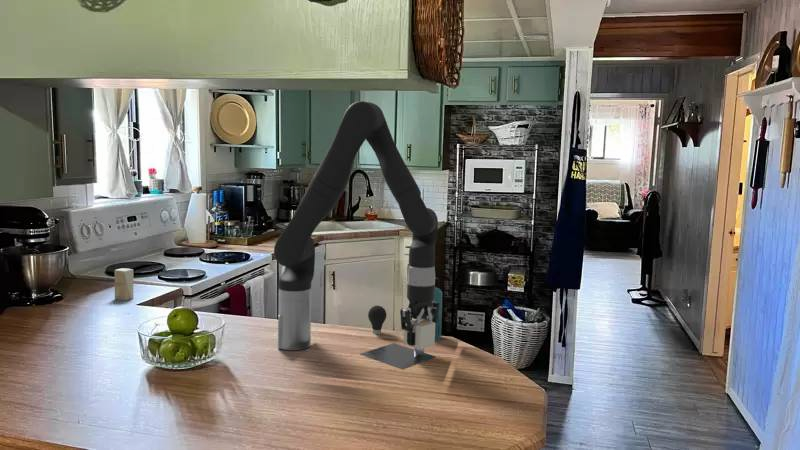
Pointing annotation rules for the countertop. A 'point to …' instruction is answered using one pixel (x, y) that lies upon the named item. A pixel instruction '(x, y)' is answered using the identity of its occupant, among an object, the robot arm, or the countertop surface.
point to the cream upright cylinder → (123, 284)
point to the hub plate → (398, 355)
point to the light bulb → (377, 318)
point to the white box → (422, 334)
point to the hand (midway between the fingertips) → (419, 342)
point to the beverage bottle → (439, 299)
